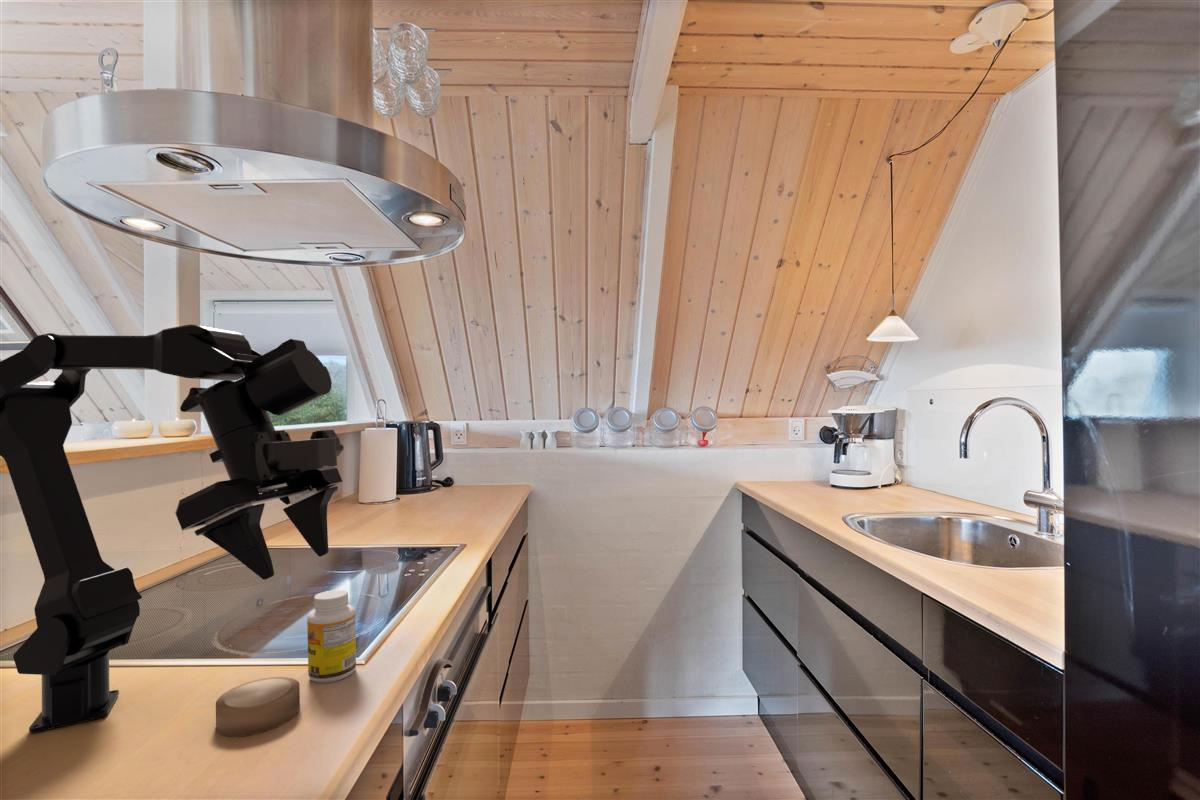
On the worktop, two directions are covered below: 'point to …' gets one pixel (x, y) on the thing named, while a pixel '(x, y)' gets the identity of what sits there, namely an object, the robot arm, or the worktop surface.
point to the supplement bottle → (331, 637)
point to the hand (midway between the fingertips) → (298, 565)
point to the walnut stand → (257, 706)
